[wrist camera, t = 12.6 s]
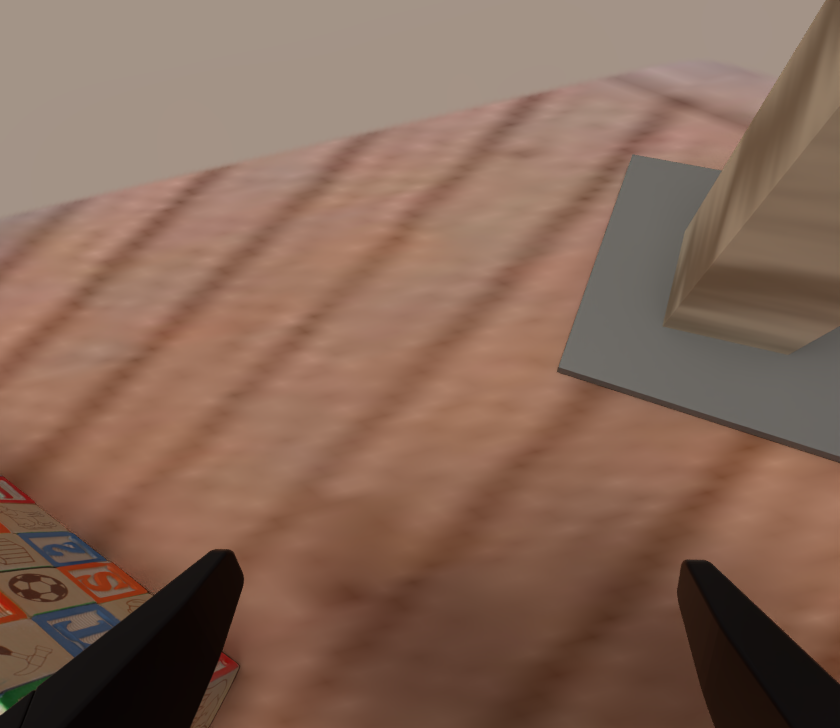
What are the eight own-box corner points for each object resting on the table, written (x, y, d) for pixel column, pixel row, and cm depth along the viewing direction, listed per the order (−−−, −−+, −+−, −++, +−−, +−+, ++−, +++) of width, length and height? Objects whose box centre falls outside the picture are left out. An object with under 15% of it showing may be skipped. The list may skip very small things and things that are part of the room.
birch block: (788, 355, 20) (1217, 113, 8) (662, 326, 21) (858, 82, 9) (805, 252, 21) (1206, -102, 9) (684, 231, 22) (887, -101, 10)
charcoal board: (901, 216, 21) (915, 205, 21) (850, 466, 19) (864, 464, 18) (628, 165, 25) (632, 154, 24) (557, 371, 22) (558, 367, 22)
